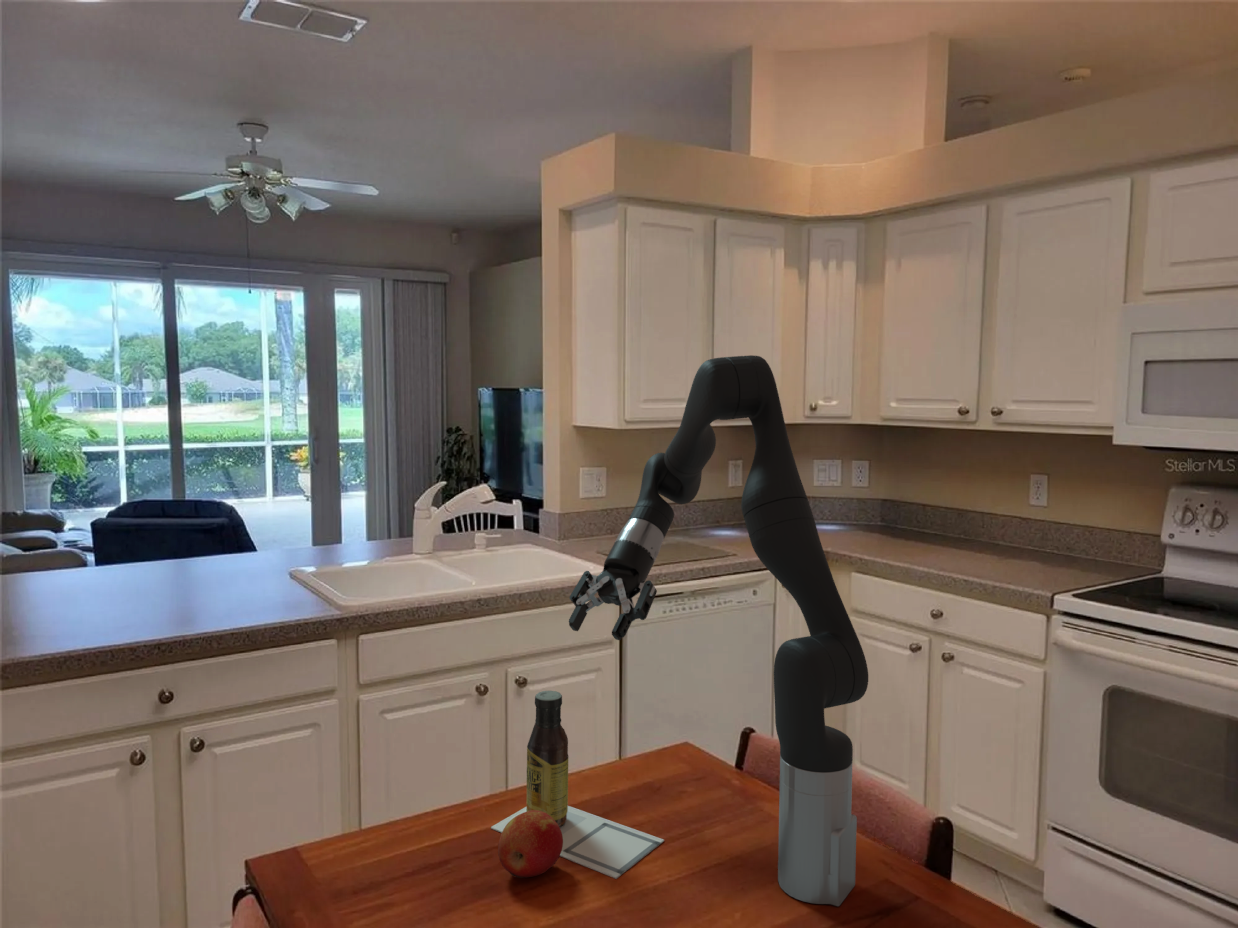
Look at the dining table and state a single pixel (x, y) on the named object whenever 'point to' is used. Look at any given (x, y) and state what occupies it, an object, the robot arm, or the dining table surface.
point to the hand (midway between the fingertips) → (593, 632)
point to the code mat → (599, 842)
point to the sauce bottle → (548, 759)
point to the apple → (530, 844)
